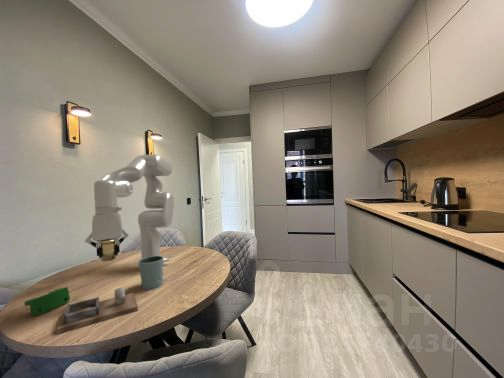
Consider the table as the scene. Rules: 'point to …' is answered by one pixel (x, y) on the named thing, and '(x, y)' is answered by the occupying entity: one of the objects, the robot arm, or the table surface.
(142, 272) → the grey-green cup
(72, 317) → the fitting board
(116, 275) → the table surface
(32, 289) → the table surface
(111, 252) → the brass door knob
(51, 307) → the clamp
